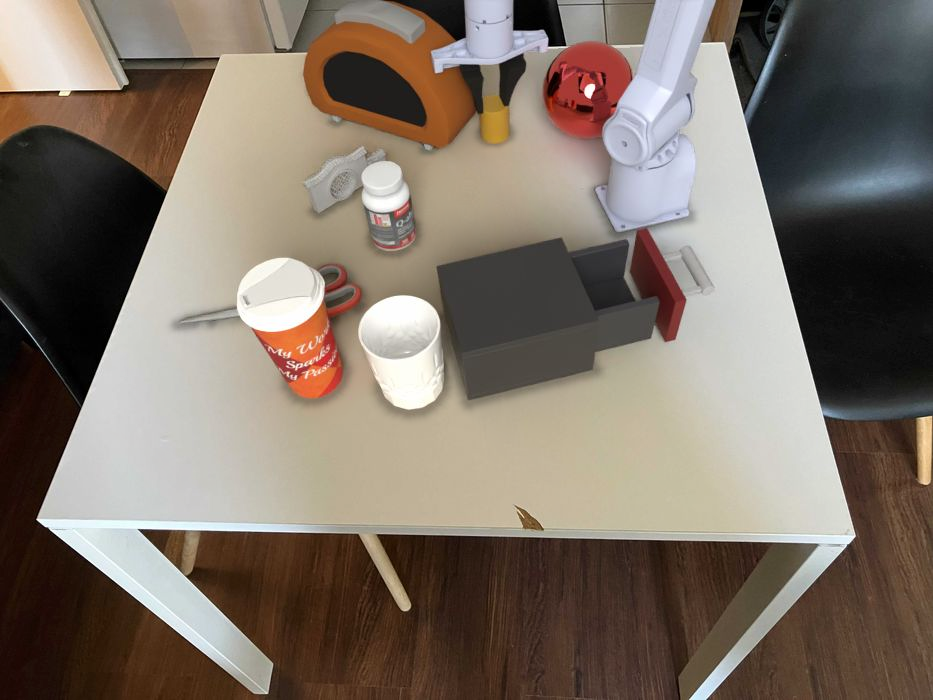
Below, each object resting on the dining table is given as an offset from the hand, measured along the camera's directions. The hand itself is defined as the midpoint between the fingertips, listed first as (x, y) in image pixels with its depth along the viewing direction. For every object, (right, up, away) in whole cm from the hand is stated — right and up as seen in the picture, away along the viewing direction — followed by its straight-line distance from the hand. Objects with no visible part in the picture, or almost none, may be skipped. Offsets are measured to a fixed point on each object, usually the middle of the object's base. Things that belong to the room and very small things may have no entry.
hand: (490, 107), depth 96 cm
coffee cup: (-20, -35, -18) cm, 44 cm away
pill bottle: (-12, -18, -6) cm, 23 cm away
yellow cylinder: (+1, -3, +4) cm, 4 cm away
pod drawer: (+14, -28, -17) cm, 36 cm away
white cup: (-9, -36, -19) cm, 42 cm away
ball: (+13, -2, +3) cm, 14 cm away
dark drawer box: (+2, -32, -17) cm, 36 cm away
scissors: (-26, -28, -12) cm, 40 cm away
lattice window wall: (-18, -12, -1) cm, 22 cm away
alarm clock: (-13, 0, +7) cm, 15 cm away
